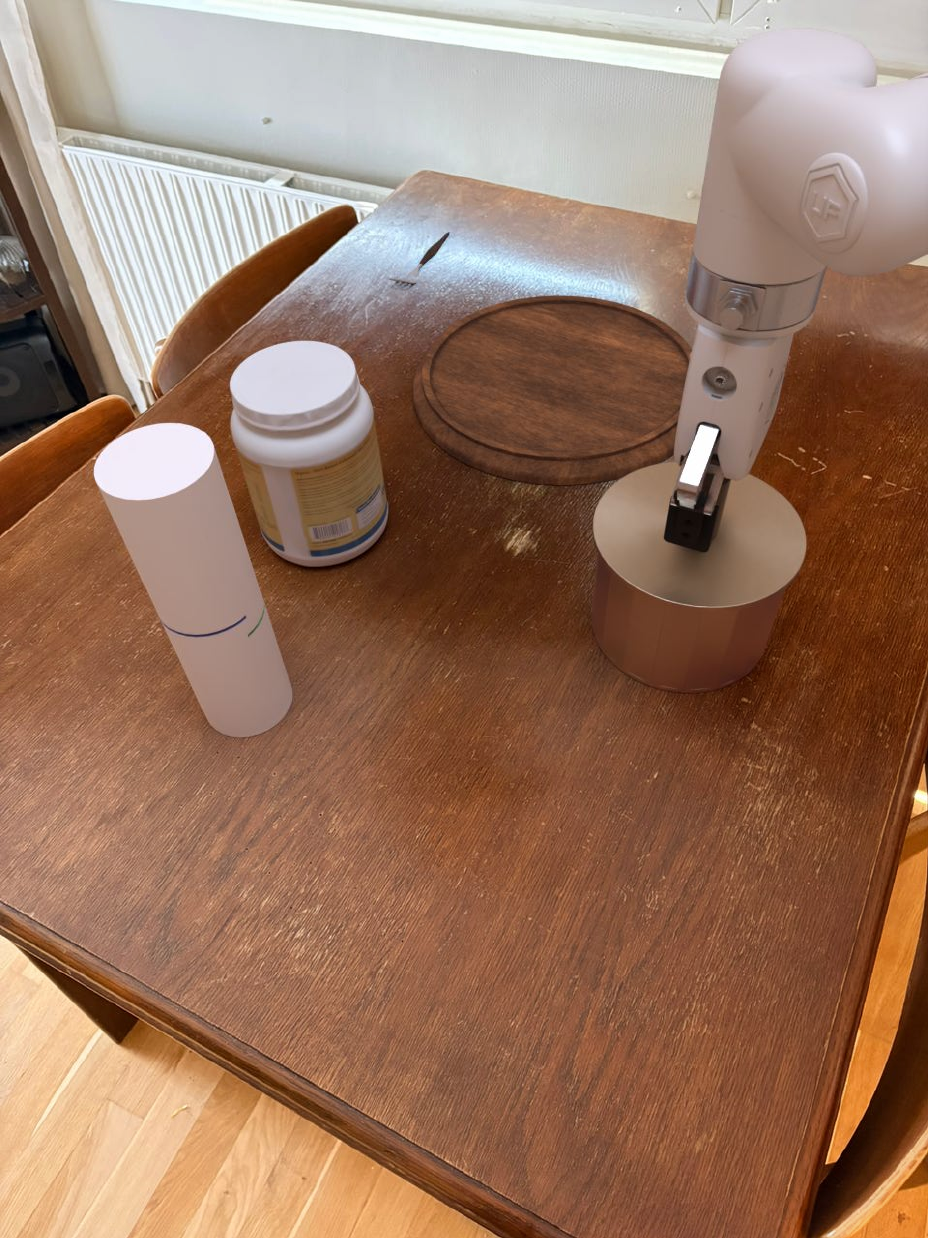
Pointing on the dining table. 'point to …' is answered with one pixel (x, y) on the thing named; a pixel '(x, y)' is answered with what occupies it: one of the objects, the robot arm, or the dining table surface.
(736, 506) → the lid
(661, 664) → the pot
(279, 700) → the cylindrical container
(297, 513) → the supplement tub
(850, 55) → the robot arm
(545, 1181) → the dining table surface
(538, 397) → the cutting board
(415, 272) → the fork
